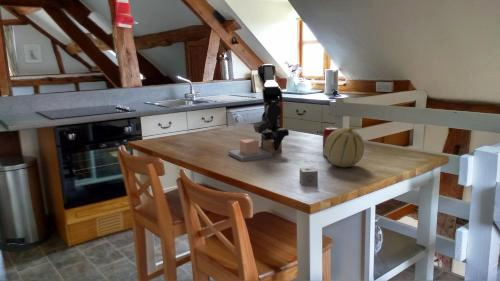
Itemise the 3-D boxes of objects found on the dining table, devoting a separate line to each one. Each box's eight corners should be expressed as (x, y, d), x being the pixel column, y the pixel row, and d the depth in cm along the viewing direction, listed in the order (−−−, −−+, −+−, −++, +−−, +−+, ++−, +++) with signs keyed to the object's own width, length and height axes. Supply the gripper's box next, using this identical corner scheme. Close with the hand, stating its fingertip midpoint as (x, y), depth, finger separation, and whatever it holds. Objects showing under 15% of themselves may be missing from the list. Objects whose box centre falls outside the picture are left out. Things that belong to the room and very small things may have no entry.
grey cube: (299, 181, 132) (299, 167, 131) (314, 181, 132) (314, 167, 131) (302, 186, 127) (302, 171, 126) (317, 186, 127) (317, 171, 126)
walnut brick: (274, 149, 179) (274, 138, 178) (281, 151, 174) (281, 140, 173) (263, 150, 177) (263, 140, 175) (270, 153, 171) (270, 142, 170)
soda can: (329, 158, 160) (330, 129, 157) (319, 155, 166) (319, 127, 163) (342, 156, 163) (343, 128, 160) (332, 153, 169) (332, 125, 166)
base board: (256, 150, 178) (256, 146, 178) (271, 156, 166) (271, 153, 166) (228, 154, 172) (228, 151, 172) (242, 161, 160) (242, 157, 160)
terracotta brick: (252, 149, 173) (252, 138, 172) (259, 152, 168) (258, 141, 167) (240, 151, 170) (239, 140, 169) (246, 154, 165) (246, 142, 164)
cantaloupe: (331, 159, 158) (331, 123, 155) (368, 163, 151) (369, 125, 148) (318, 169, 146) (318, 129, 143) (357, 173, 139) (358, 132, 135)
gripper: (245, 113, 176) (246, 147, 180) (266, 118, 160) (267, 155, 163) (267, 111, 181) (267, 144, 185) (289, 116, 165) (289, 152, 168)
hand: (272, 149), depth 175 cm, fingers closed on walnut brick, 6 cm apart
